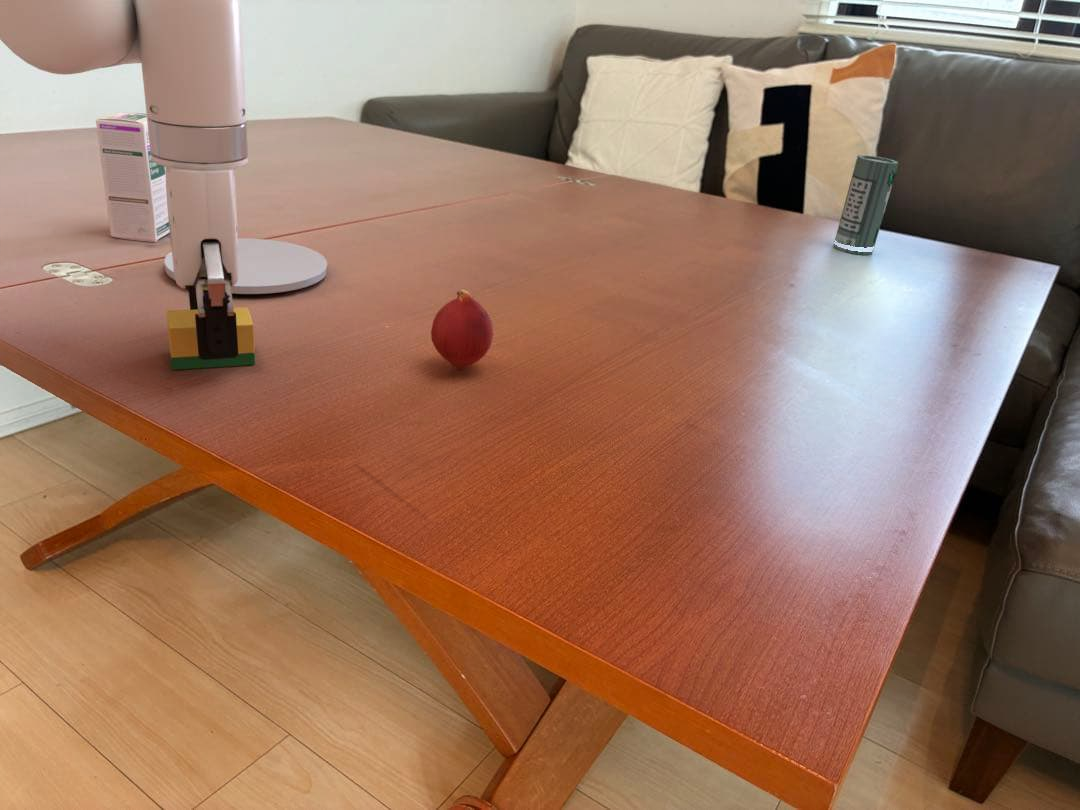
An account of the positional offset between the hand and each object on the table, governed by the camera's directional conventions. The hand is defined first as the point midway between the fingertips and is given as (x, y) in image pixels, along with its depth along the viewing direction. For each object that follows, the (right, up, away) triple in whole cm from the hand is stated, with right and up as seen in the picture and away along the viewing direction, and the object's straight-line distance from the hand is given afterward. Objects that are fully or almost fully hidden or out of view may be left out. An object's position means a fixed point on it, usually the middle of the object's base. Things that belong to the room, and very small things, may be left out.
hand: (213, 336), depth 77 cm
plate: (-5, +9, +23) cm, 25 cm away
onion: (+22, -3, +5) cm, 23 cm away
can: (+83, +20, +66) cm, 108 cm away
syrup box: (-21, +15, +31) cm, 40 cm away
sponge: (-1, -2, +1) cm, 2 cm away
